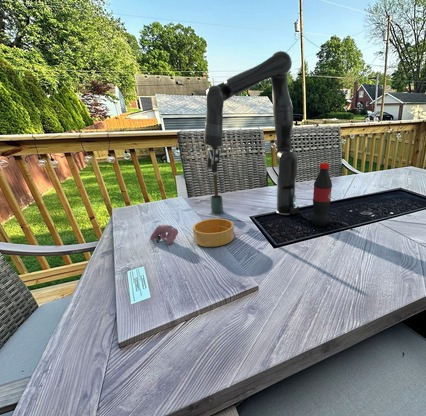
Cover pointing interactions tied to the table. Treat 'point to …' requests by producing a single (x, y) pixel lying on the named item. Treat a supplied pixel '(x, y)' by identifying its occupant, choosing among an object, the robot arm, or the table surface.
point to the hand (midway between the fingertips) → (211, 169)
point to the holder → (216, 204)
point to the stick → (215, 185)
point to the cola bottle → (322, 197)
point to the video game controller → (162, 232)
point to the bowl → (213, 232)
